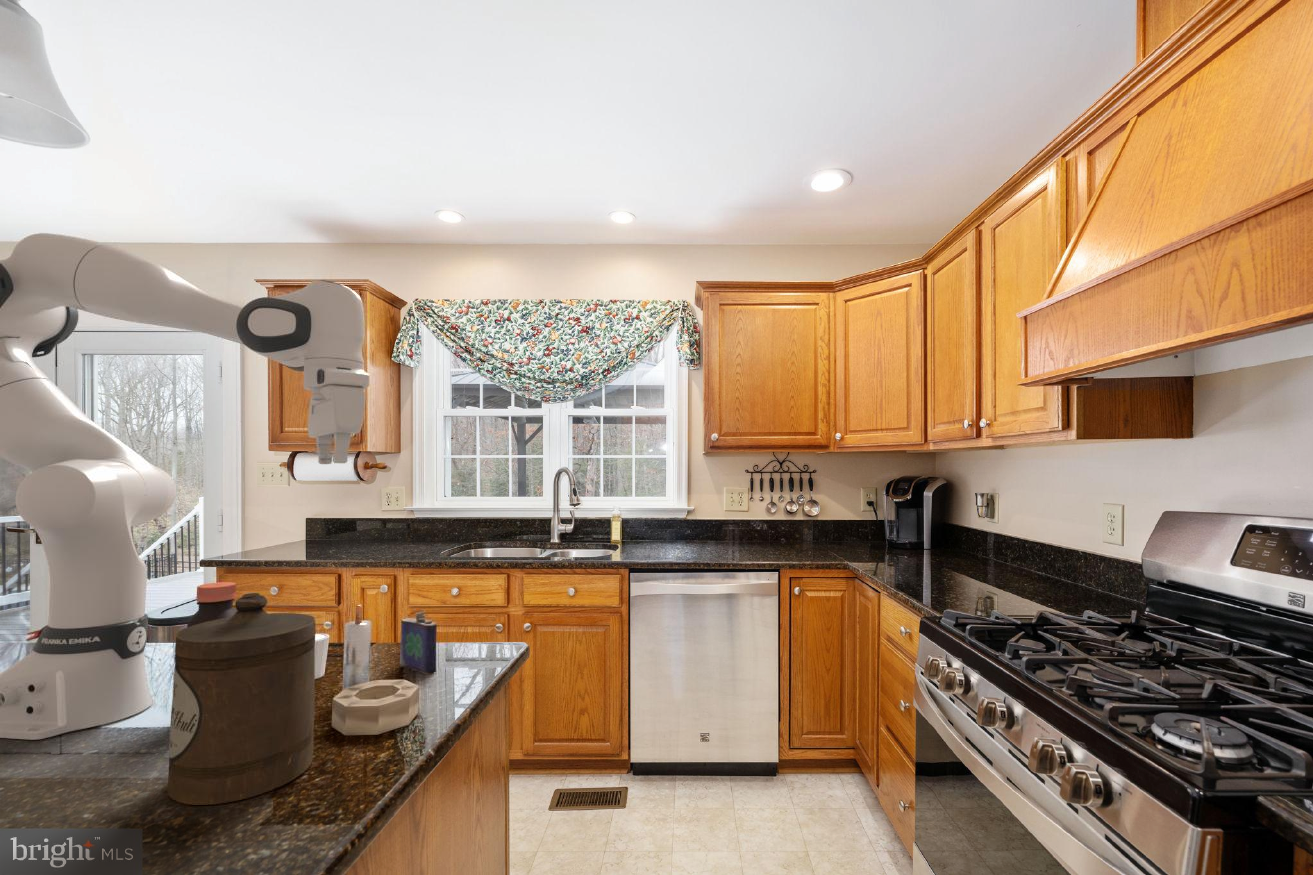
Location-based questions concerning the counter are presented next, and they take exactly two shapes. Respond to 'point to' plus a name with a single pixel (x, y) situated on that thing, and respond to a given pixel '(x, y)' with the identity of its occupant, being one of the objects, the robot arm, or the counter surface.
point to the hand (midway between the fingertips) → (332, 463)
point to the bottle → (214, 602)
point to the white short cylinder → (320, 653)
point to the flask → (418, 644)
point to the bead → (375, 707)
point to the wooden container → (241, 704)
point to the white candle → (356, 650)
